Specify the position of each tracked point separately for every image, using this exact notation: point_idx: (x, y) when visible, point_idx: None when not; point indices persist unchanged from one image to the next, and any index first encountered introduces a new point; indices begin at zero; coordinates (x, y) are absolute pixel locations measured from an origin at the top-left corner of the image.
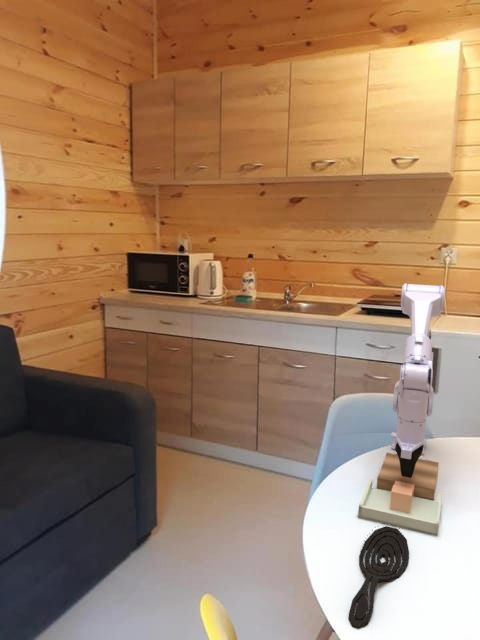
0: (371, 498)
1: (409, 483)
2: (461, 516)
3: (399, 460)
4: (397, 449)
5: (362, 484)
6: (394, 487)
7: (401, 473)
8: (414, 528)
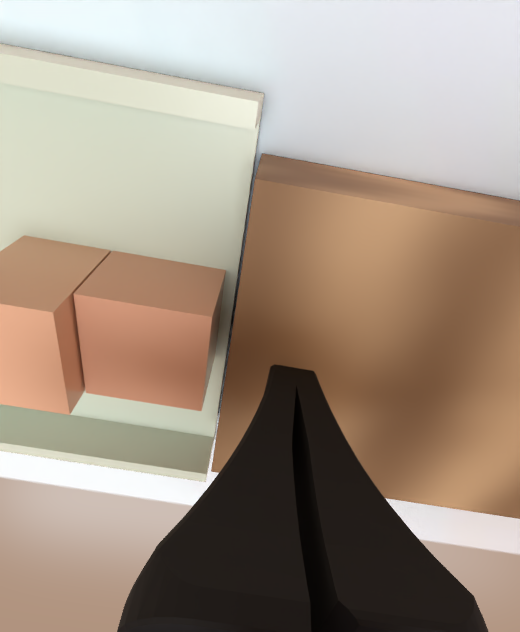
0: (90, 116)
1: (235, 382)
2: (153, 475)
3: (229, 458)
4: (123, 610)
5: (330, 29)
6: (14, 318)
7: (271, 375)
8: None
